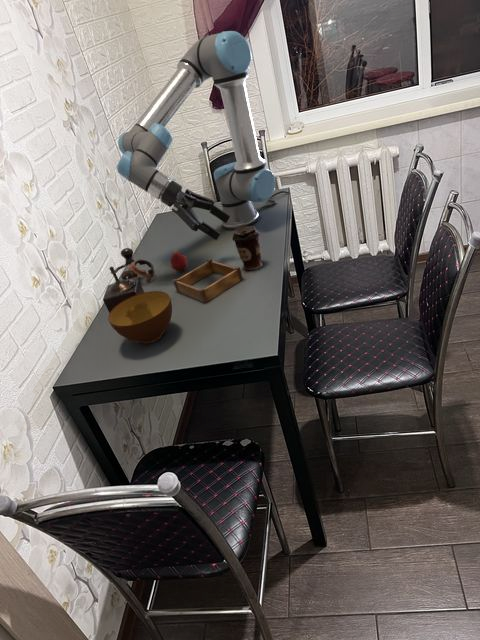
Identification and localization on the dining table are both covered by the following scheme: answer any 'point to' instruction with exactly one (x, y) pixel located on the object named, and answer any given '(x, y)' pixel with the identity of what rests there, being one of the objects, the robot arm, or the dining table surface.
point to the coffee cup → (248, 246)
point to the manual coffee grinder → (122, 284)
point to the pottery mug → (139, 271)
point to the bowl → (142, 316)
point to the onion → (178, 262)
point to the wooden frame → (214, 289)
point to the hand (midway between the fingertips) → (223, 228)
